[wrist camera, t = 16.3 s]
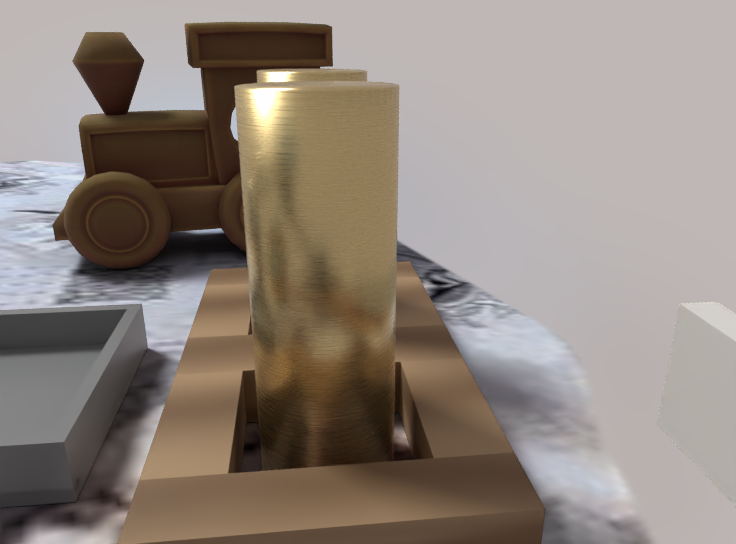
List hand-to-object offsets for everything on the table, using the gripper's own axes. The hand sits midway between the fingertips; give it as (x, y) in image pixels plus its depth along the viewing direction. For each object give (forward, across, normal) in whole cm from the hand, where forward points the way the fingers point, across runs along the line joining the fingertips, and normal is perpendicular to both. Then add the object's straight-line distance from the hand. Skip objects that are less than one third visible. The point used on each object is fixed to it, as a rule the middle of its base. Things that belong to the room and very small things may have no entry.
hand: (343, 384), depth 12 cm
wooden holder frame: (+15, 0, -9) cm, 17 cm away
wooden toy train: (+39, -8, -10) cm, 41 cm away
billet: (+10, 0, -9) cm, 13 cm away
